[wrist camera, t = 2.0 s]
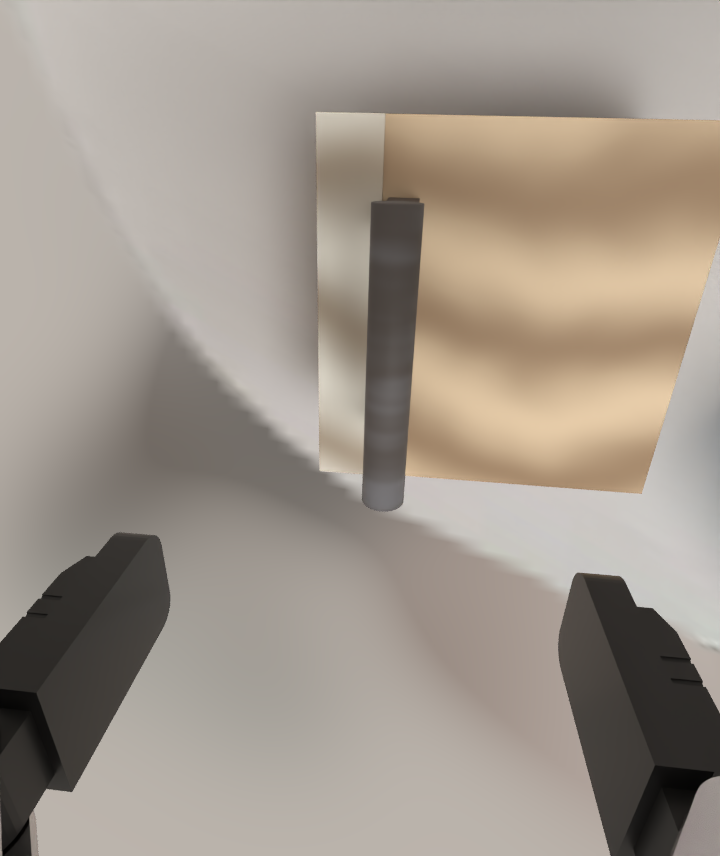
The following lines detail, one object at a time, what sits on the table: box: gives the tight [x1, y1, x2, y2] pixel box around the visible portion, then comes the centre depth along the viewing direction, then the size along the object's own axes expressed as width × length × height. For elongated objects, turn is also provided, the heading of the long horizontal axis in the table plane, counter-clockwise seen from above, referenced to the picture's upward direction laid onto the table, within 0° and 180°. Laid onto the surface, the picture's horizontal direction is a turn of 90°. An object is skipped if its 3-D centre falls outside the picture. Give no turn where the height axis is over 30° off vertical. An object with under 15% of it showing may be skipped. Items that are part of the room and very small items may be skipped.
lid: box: [316, 112, 720, 511], centre depth 24 cm, size 18×18×9 cm
